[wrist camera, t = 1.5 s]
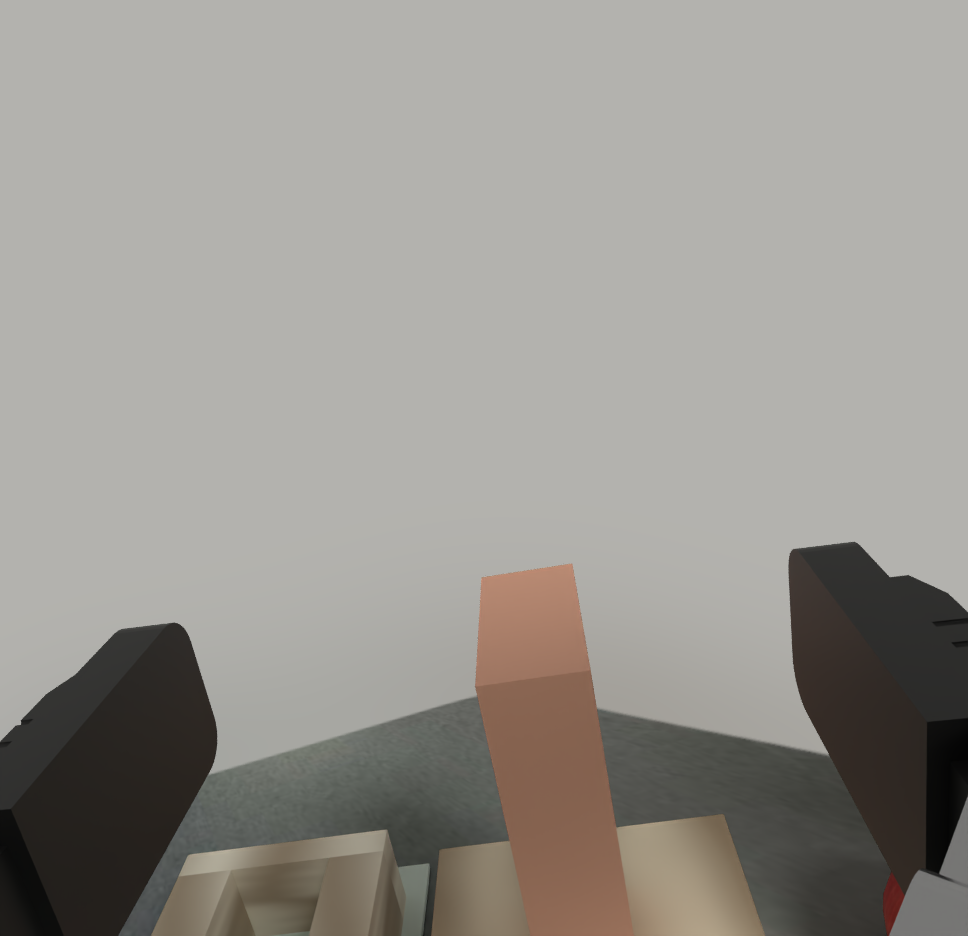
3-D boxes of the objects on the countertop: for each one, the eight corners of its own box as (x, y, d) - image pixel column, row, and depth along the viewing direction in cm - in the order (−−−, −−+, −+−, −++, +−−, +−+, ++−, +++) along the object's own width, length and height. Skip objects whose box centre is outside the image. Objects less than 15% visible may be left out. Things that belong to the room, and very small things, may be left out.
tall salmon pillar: (625, 887, 31) (572, 563, 26) (651, 1046, 25) (590, 670, 21) (547, 896, 31) (481, 577, 27) (556, 1055, 26) (475, 686, 21)
